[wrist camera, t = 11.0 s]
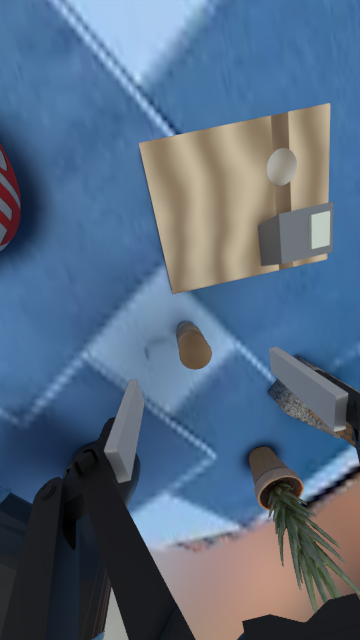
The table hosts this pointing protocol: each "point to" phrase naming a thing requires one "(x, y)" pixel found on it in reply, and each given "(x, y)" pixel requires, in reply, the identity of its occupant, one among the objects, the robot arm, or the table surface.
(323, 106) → the board
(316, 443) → the table surface
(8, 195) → the decorative sphere
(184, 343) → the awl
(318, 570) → the potted plant
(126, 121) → the table surface
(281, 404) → the figurine
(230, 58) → the table surface
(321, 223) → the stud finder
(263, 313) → the table surface
